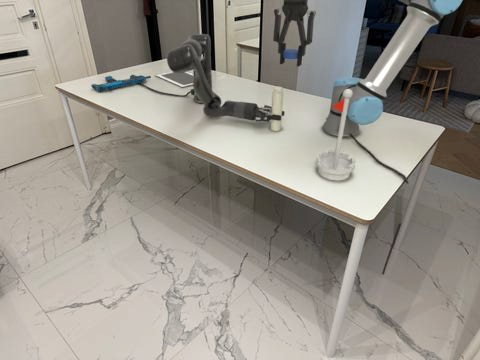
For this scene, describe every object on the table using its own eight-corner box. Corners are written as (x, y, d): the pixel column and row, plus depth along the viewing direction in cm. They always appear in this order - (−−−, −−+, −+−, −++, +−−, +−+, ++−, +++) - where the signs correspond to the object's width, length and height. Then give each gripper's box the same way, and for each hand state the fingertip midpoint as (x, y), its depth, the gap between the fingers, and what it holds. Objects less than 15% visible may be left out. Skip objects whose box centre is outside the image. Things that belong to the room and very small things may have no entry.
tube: (281, 130, 150) (284, 89, 140) (271, 131, 150) (273, 89, 140) (279, 126, 154) (282, 86, 144) (269, 126, 154) (271, 86, 143)
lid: (283, 55, 119) (283, 48, 118) (299, 55, 118) (300, 49, 117) (282, 58, 115) (282, 52, 113) (299, 59, 114) (299, 53, 113)
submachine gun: (137, 69, 223) (155, 75, 206) (138, 75, 225) (156, 81, 208) (84, 79, 204) (99, 87, 188) (85, 85, 206) (101, 94, 190)
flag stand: (338, 160, 128) (352, 80, 111) (360, 177, 117) (380, 93, 101) (308, 166, 124) (318, 85, 107) (328, 185, 113) (343, 98, 97)
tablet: (155, 75, 221) (155, 75, 220) (182, 70, 232) (182, 69, 231) (182, 87, 200) (182, 86, 200) (210, 80, 211) (209, 80, 211)
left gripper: (240, 108, 145) (278, 113, 140) (251, 97, 156) (287, 102, 151) (240, 124, 149) (277, 130, 144) (250, 113, 160) (286, 117, 155)
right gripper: (329, -12, 104) (319, 65, 117) (273, -14, 112) (270, 59, 124) (322, -11, 99) (313, 70, 111) (264, -13, 106) (261, 63, 119)
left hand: (282, 115), depth 147 cm, fingers closed on tube, 4 cm apart
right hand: (290, 64), depth 118 cm, fingers closed on lid, 5 cm apart
